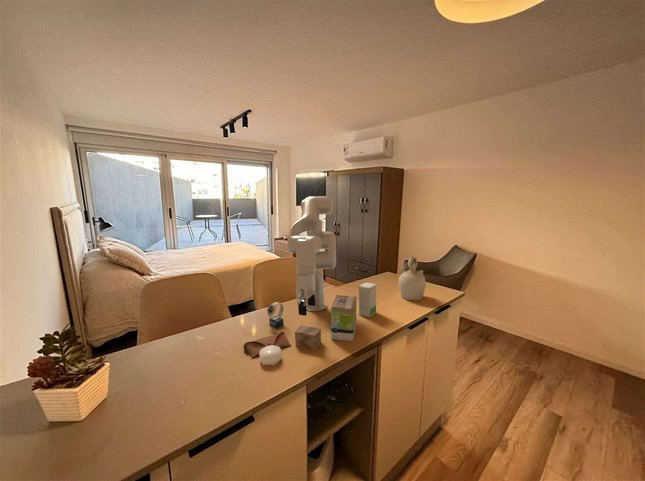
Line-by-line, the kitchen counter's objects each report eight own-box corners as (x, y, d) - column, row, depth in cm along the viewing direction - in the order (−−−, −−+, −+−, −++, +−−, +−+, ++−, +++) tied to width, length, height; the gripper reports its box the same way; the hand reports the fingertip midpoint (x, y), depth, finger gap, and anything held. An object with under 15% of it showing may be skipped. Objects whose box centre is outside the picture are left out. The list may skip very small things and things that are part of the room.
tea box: (354, 341, 110) (354, 308, 108) (330, 339, 112) (330, 307, 110) (356, 324, 125) (356, 295, 122) (335, 323, 127) (335, 294, 124)
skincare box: (369, 318, 131) (369, 288, 129) (357, 314, 135) (357, 285, 133) (376, 312, 138) (377, 283, 136) (365, 309, 142) (365, 281, 139)
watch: (266, 325, 125) (264, 304, 123) (279, 320, 131) (278, 299, 129) (272, 329, 121) (271, 307, 120) (286, 323, 127) (285, 302, 125)
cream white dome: (255, 364, 96) (255, 355, 96) (266, 352, 104) (266, 344, 103) (274, 368, 94) (274, 359, 93) (285, 355, 101) (284, 347, 101)
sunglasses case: (250, 360, 98) (246, 342, 100) (245, 361, 104) (242, 343, 106) (293, 345, 108) (288, 329, 110) (287, 346, 113) (283, 331, 115)
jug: (392, 295, 161) (394, 255, 157) (412, 291, 168) (413, 253, 164) (410, 303, 148) (412, 261, 144) (430, 299, 154) (433, 257, 150)
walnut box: (295, 346, 108) (294, 332, 107) (301, 338, 114) (300, 325, 113) (315, 350, 105) (315, 335, 104) (321, 342, 110) (320, 328, 109)
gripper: (305, 263, 113) (306, 301, 116) (288, 274, 97) (289, 317, 99) (322, 264, 111) (322, 303, 113) (306, 275, 95) (308, 320, 97)
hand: (307, 310), depth 106 cm, fingers open, 9 cm apart
